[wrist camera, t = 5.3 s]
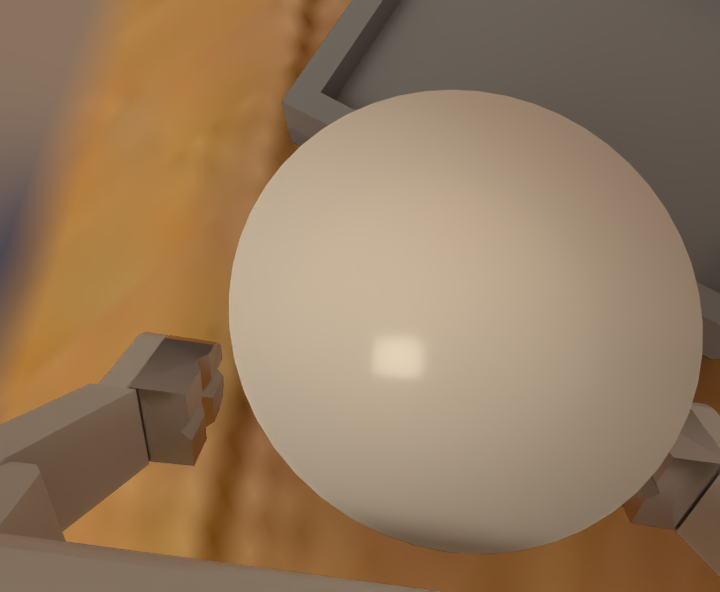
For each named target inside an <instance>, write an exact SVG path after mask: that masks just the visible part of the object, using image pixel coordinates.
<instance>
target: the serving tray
mask: <svg viewBox="0 0 720 592" xmlns="http://www.w3.org/2000/svg"><path fill="white" fill-rule="evenodd" d="M436 90H468V91H482V92H487V93H493V94H499V95H505V96H509V97H513V98H516V99H520V100H523V101H526V102H530V103H533V104H536V105H538V106H541V107H543V108H546V109H548V110H550V111H553V112H555V113H558V114H560V115H562V116H564V117H566V118H567V119H569V120H571V121H573V122H575V123H576V124H578V125H580V126H582V127H584V128H585V129H587V130H588V131H590V132H591V133H592V134H594V135H595V136H597V137H598V138H600V139H601V140H602V141H604V142H605V143H607V144H608V145H609V146H610V147H612V148H613V149H614V150H615V151H616V152H617V153H618V154H619V155H621V156H622V157H623V158H624V159H625V160H626V161H627V162H628V163H630V164H631V166H632V167H633V168H634V169H635V170H636V171H637V172H638V173H639V174H640V176H641V177H642V178H643V179H644V180H645V181H646V182H647V183H648V185H649V186H650V187H651V188H652V190H653V191H654V193H655V194H656V196H657V197H658V198H659V200H660V201H661V203H662V204H663V205H664V207H665V208H666V210H667V212H668V213H669V215H670V217H671V219H672V221H673V223H674V224H675V226H676V228H677V230H678V232H679V234H680V235H681V238H682V241H683V243H684V246H685V248H686V251H687V253H688V256H689V258H690V261H691V263H692V267H693V271H694V275H695V279H696V283H697V287H698V290H699V297H700V305H701V313H702V321H703V345H702V355H704V356H705V357H707V358H709V359H711V360H715V359H720V0H352V1H351V2H350V4H349V5H348V7H347V8H346V10H345V11H344V12H343V14H342V15H341V17H340V18H339V20H338V21H337V23H336V24H335V25H334V27H333V28H332V30H331V31H330V33H329V34H328V35H327V37H326V38H325V40H324V41H323V43H322V44H321V45H320V47H319V48H318V50H317V51H316V53H315V54H314V56H313V57H312V58H311V60H310V61H309V63H308V64H307V66H306V67H305V68H304V70H303V71H302V73H301V74H300V76H299V77H298V79H297V80H296V81H295V83H294V84H293V86H292V87H291V89H290V90H289V91H288V93H287V94H286V96H285V97H284V99H283V100H282V105H283V110H284V115H285V119H286V124H287V128H288V133H289V137H290V141H292V142H293V143H295V144H297V145H299V146H301V145H302V144H304V143H305V142H306V141H308V140H309V139H310V138H311V137H313V136H314V135H315V134H317V133H318V132H319V131H321V130H322V129H323V128H325V127H326V126H328V125H330V124H332V123H333V122H335V121H337V120H338V119H340V118H342V117H343V116H345V115H347V114H349V113H351V112H354V111H356V110H358V109H361V108H363V107H365V106H367V105H370V104H372V103H375V102H379V101H382V100H386V99H389V98H392V97H396V96H400V95H405V94H411V93H417V92H423V91H436Z"/></svg>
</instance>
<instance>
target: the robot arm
mask: <svg viewBox="0 0 720 592" xmlns="http://www.w3.org/2000/svg"><path fill="white" fill-rule="evenodd" d="M221 360H222V351H221V345H220V344H219V343H218V342H212V341H205V340H198V339H192V338H185V337H179V336H172V335H170V336H168V335H163V334H156V333H149V332H144V333H142V334H140V335H138V337H137V338H136V339H135V340H134V341H133V343H132V344H131V345H130V346H129V347H128V349H127V350H126V351H125V352H124V354H123V355H122V356H121V357H120V358H119V360H118V361H117V362H116V363H115V365H114V366H113V367H112V368H111V369H110V371H109V372H108V373H107V374H106V375H105V377H104V378H103V379H102V380H101V382H100V383H99V384H91V383H90V384H88V385H86V386H84V387H82V388H79V389H77V390H75V391H73V392H71V393H68V394H66V395H64V396H62V397H60V398H58V399H55V400H53V401H51V402H49V403H47V404H45V405H42V406H40V407H38V408H36V409H34V410H31V411H29V412H27V413H25V414H23V415H21V416H18V417H16V418H14V419H12V420H10V421H8V422H5V423H3V424H1V425H0V592H442V591H434V590H427V589H419V588H412V587H404V586H397V585H389V584H382V583H374V582H367V581H359V580H352V579H344V578H337V577H329V576H322V575H314V574H307V573H299V572H291V571H284V570H276V569H269V568H261V567H254V566H246V565H239V564H231V563H224V562H216V561H208V560H201V559H193V558H186V557H178V556H171V555H163V554H156V553H148V552H141V551H133V550H125V549H118V548H110V547H103V546H95V545H88V544H80V543H73V542H66V540H65V538H64V535H63V531H64V530H65V529H67V528H68V527H69V526H70V525H72V524H73V523H74V522H76V521H77V520H78V519H79V518H81V517H82V516H83V515H85V514H86V513H87V512H88V511H90V510H91V509H92V508H94V507H95V506H96V505H97V504H99V503H100V502H101V501H102V500H104V499H105V498H106V497H108V496H109V495H110V494H111V493H113V492H114V491H115V490H117V489H118V488H119V487H120V486H122V485H123V484H124V483H126V482H127V481H128V480H129V479H131V478H132V477H133V476H134V475H136V474H137V473H138V472H140V471H141V470H142V469H143V468H145V467H146V466H147V465H149V461H151V462H160V463H170V464H180V465H190V466H194V465H195V463H196V461H197V458H198V456H199V454H200V452H201V450H202V448H203V445H204V443H205V441H206V439H207V438H206V427H207V426H208V425H210V424H211V423H213V422H214V421H215V419H216V417H217V414H218V412H219V409H220V405H221V401H222V397H223V387H224V383H223V375H222V374H221V373H220V372H219V371H218V369H217V368H218V366H219V364H220V362H221ZM622 505H623V507H624V509H625V512H626V514H627V516H628V518H629V520H630V522H631V523H633V524H640V525H646V526H652V527H659V528H665V529H671V530H677V531H676V533H677V534H678V535H679V536H680V537H681V538H682V539H683V540H684V541H685V542H686V543H687V544H688V545H689V546H690V547H691V548H692V549H693V550H694V551H695V553H696V554H697V555H698V556H699V557H700V558H701V559H702V560H703V561H704V562H705V563H706V564H707V565H708V566H709V567H710V568H711V569H712V570H713V571H714V572H715V573H716V574H717V575H718V576H719V577H720V415H719V414H718V413H717V412H716V410H715V409H714V408H712V407H710V406H709V405H707V404H704V403H694V402H692V405H691V409H690V412H689V415H688V417H687V419H686V421H685V423H684V425H683V428H682V430H681V432H680V434H679V436H678V438H677V441H676V442H675V444H674V445H673V447H672V449H671V450H670V452H669V453H668V455H667V456H666V458H665V459H664V461H663V462H662V464H661V465H660V467H659V468H658V469H657V471H656V472H655V473H654V474H653V475H652V476H651V477H650V478H649V480H648V481H647V482H646V483H645V484H644V485H643V486H642V487H641V489H640V490H639V491H638V492H637V493H636V494H634V495H633V496H632V497H631V498H630V499H628V500H627V501H626V502H625V503H624V504H622Z"/></svg>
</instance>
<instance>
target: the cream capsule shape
mask: <svg viewBox="0 0 720 592" xmlns="http://www.w3.org/2000/svg"><path fill="white" fill-rule="evenodd" d="M229 328H230V335H231V342H232V348H233V355H234V360H235V363H236V367H237V370H238V374H239V377H240V380H241V384H242V387H243V390H244V392H245V395H246V397H247V399H248V401H249V404H250V406H251V408H252V410H253V413H254V415H255V417H256V419H257V421H258V422H259V424H260V426H261V427H262V429H263V431H264V432H265V434H266V435H267V437H268V439H269V440H270V442H271V443H272V445H273V447H274V448H275V449H276V451H277V452H278V453H279V454H280V455H281V457H282V458H283V459H284V460H285V462H286V463H287V464H288V465H289V466H290V468H291V469H292V470H293V471H294V472H295V474H296V475H297V476H298V477H300V478H301V479H302V480H303V481H304V482H305V483H306V484H307V485H308V486H309V487H310V488H311V489H312V490H314V491H315V492H316V493H317V494H318V495H319V496H320V497H321V498H322V499H324V500H325V501H327V502H328V503H330V504H331V505H332V506H334V507H335V508H337V509H338V510H340V511H341V512H342V513H344V514H345V515H347V516H348V517H350V518H351V519H353V520H355V521H357V522H359V523H361V524H363V525H365V526H367V527H369V528H371V529H373V530H375V531H377V532H379V533H381V534H383V535H386V536H389V537H392V538H394V539H397V540H400V541H403V542H406V543H409V544H412V545H414V546H419V547H424V548H429V549H434V550H439V551H444V552H450V553H469V554H493V553H504V552H515V551H522V550H526V549H530V548H534V547H538V546H542V545H546V544H550V543H553V542H556V541H558V540H561V539H563V538H566V537H568V536H570V535H573V534H575V533H578V532H580V531H583V530H585V529H586V528H588V527H590V526H591V525H593V524H595V523H596V522H598V521H600V520H601V519H603V518H605V517H606V516H608V515H610V514H611V513H613V512H614V511H615V510H616V509H618V508H619V507H620V506H621V505H622V504H624V503H625V502H626V501H627V500H628V499H630V498H631V497H632V496H633V495H634V494H636V493H637V492H638V491H639V490H640V489H641V487H642V486H643V485H644V484H645V483H646V482H647V481H648V480H649V478H650V477H651V476H652V475H653V474H654V473H655V472H656V471H657V469H658V468H659V467H660V465H661V464H662V462H663V461H664V459H665V458H666V456H667V455H668V453H669V452H670V450H671V449H672V447H673V445H674V444H675V442H676V441H677V438H678V436H679V434H680V432H681V430H682V428H683V425H684V423H685V421H686V419H687V417H688V415H689V412H690V409H691V405H692V402H693V398H694V395H695V392H696V388H697V385H698V380H699V373H700V366H701V359H702V345H703V321H702V313H701V305H700V297H699V290H698V287H697V283H696V279H695V275H694V271H693V267H692V263H691V261H690V258H689V256H688V253H687V251H686V248H685V246H684V243H683V241H682V238H681V235H680V234H679V232H678V230H677V228H676V226H675V224H674V223H673V221H672V219H671V217H670V215H669V213H668V212H667V210H666V208H665V207H664V205H663V204H662V203H661V201H660V200H659V198H658V197H657V196H656V194H655V193H654V191H653V190H652V188H651V187H650V186H649V185H648V183H647V182H646V181H645V180H644V179H643V178H642V177H641V176H640V174H639V173H638V172H637V171H636V170H635V169H634V168H633V167H632V166H631V164H630V163H628V162H627V161H626V160H625V159H624V158H623V157H622V156H621V155H619V154H618V153H617V152H616V151H615V150H614V149H613V148H612V147H610V146H609V145H608V144H607V143H605V142H604V141H602V140H601V139H600V138H598V137H597V136H595V135H594V134H592V133H591V132H590V131H588V130H587V129H585V128H584V127H582V126H580V125H578V124H576V123H575V122H573V121H571V120H569V119H567V118H566V117H564V116H562V115H560V114H558V113H555V112H553V111H550V110H548V109H546V108H543V107H541V106H538V105H536V104H533V103H530V102H526V101H523V100H520V99H516V98H513V97H509V96H505V95H499V94H493V93H487V92H482V91H468V90H436V91H423V92H417V93H411V94H405V95H400V96H396V97H392V98H389V99H386V100H382V101H379V102H375V103H372V104H370V105H367V106H365V107H363V108H361V109H358V110H356V111H354V112H351V113H349V114H347V115H345V116H343V117H342V118H340V119H338V120H337V121H335V122H333V123H332V124H330V125H328V126H326V127H325V128H323V129H322V130H321V131H319V132H318V133H317V134H315V135H314V136H313V137H311V138H310V139H309V140H308V141H306V142H305V143H304V144H302V145H301V146H300V147H299V148H298V149H297V150H296V151H295V152H294V153H293V154H292V155H291V156H290V157H289V158H288V159H287V160H286V161H285V162H284V163H283V164H282V165H281V167H280V168H279V169H278V171H277V172H276V173H275V175H274V176H273V177H272V178H271V180H270V181H269V182H268V184H267V185H266V186H265V188H264V190H263V191H262V193H261V195H260V196H259V198H258V200H257V202H256V203H255V205H254V207H253V209H252V210H251V212H250V215H249V217H248V220H247V222H246V225H245V227H244V229H243V232H242V234H241V237H240V240H239V244H238V247H237V251H236V255H235V259H234V263H233V267H232V275H231V283H230V291H229Z"/></svg>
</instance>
